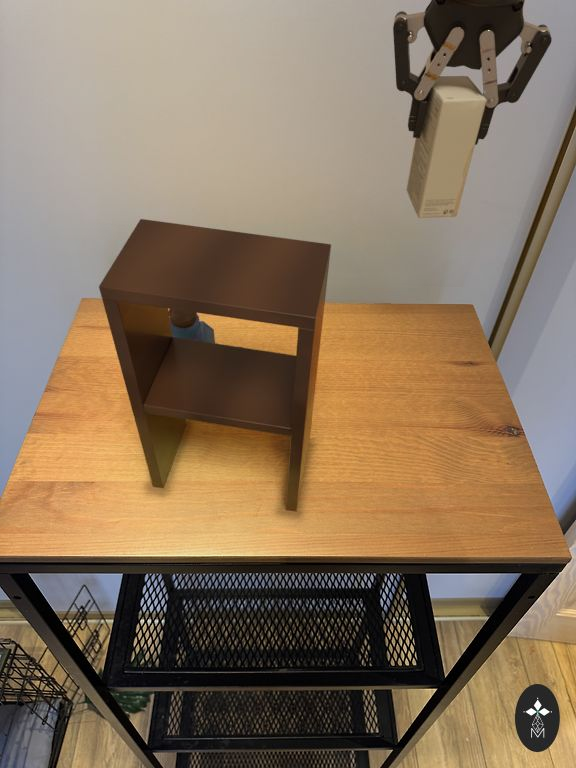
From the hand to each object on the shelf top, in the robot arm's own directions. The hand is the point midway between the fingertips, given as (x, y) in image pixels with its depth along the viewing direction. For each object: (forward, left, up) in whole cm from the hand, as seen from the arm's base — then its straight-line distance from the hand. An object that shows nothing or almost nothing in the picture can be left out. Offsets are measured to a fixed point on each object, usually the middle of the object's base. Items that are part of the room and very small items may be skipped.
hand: (444, 137), depth 57 cm
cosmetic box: (0, 0, -8) cm, 8 cm away
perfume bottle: (+25, +13, -29) cm, 40 cm away
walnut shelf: (+17, +24, -29) cm, 41 cm away
